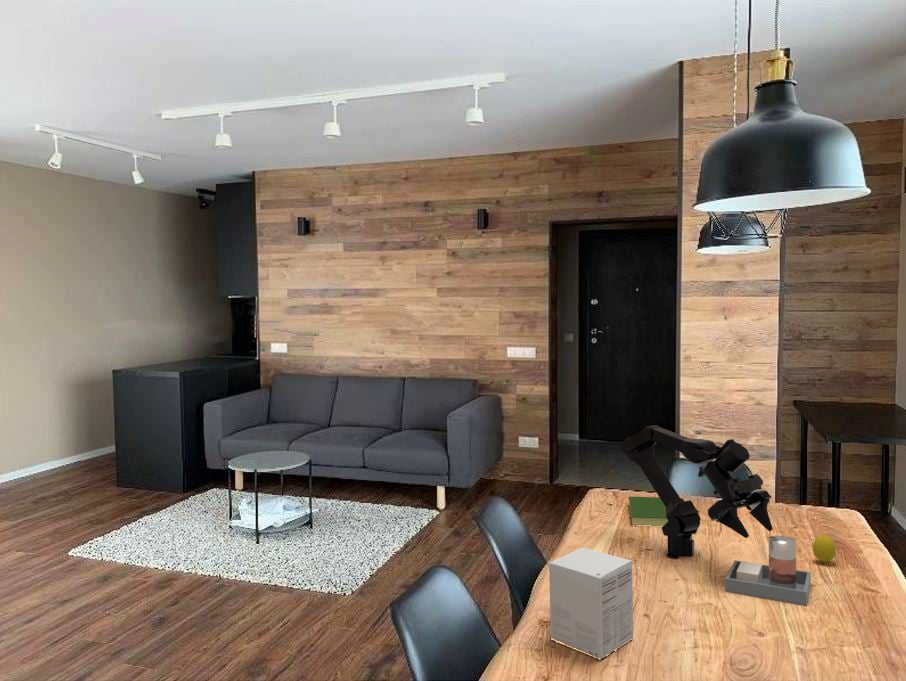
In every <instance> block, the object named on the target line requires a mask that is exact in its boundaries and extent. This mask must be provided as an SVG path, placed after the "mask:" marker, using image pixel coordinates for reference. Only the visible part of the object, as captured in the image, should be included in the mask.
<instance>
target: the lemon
mask: <svg viewBox="0 0 906 681" xmlns="http://www.w3.org/2000/svg"><path fill="white" fill-rule="evenodd" d="M836 551H837V550H836V545H835V542H834V540H833V539H832V537H830V536H828V535H826V534H821V535H818V536H817V537H816V538H814V540H813V544H812V552H813V554H814V556H815V558H816V559H817V560H818V561H820V562H822V563H823V564H826V563H827V562H830V561H832V560H833V559H834V558H835V556H836Z"/></svg>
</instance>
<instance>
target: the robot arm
mask: <svg viewBox="0 0 906 681" xmlns="http://www.w3.org/2000/svg"><path fill="white" fill-rule="evenodd" d="M657 444H659V445H662V446H664V447H667V448H669V449H672V450H675V451H677V452H679V453H680V454H682V455H683V457H684V458H685V459H687V460H688V461H690V462H691V463H692V464H697V465H698V464H703V463H707V464H706V465H701V466H699V470H698V476H697V477H698V478H703V477H706V478H707V479H708V481H709V482H710V483H711V485H712V486H713V488H714V491H713V492H712V493H713V494H714V495H715V496H719V497H720V498H721V499H719V500H717V501H715V502H714V503H713V505H711V506H710V507H709V508H708V509H707V515H708V517H709V518H710V520H711V521H716V522H717V523H720V524H722V525H724V526H725V527H727V528H729V529H731V530H732V531H734V532H736V533H737V534H738V535H740V536H742V537H743V538H745V539H748V538H749V537H750V535H749V533H748V531H747V528H746V527H745V525H744V524H743V523H742V521H741V519H740V517H739V515H738V510H739V509H741V508H746V509H747V510H749V514H750V515H751V517H753V518H754V519H755V520H757V522H759V524H760V525H761V526H763V527H764V528H765V529H766V530H767V531H768V532H772V531H773V529H774V528H773V525H772V522H771V519H770V516H769V513H768V504H769V503H771V501H770V500H771V499H772V496H771V495H770V493H769V492H768V491H767V490H766V489H763V488H762V486H763V485H764V480H763V479H762V478H761V476H760V475H759V473H754V474H752V475H749V476H748V478H747V479H744V480H742V479H741V478H739V477H734V476H733V475H732V473H734V472H736V471H737V470H738V469H740V467H742V466H743V465H744V464H745V463H746V462H747V461H748V460H749V459H750V453H749V450H748V449H747V447H745V446H743V445H742V444H740V443H739V442H736V441H735V439H733V438H732V439H727V440H725V442H724V444H723V445H722V446H719V445H716V443H715V442H714V441H712V440H709V439H704V438H692V437H691V438H690V437H687V436H684V435H682V434H679V433H676V432H673V431H671V430H668V429H666V428H663V427H661V426H660V425H649V426H645V427H644V428H643V429H641V430H640V431H637V433H634V434H633V435H631V436H630V437H625V439H623V441H622V445H621V449H622V452H623V453H624V455H625V456H626V457H627V458H628V459H629V460H630V461H631V462H632V463H634V464H636V465H637V466H639V467H640V469H641V471H642V473H644V475H645V477H646V479H647V480H648V482H649V483H650V485H651V487H652V489H653V490H654V491H655V492H656V494H657V496H658V497H660V499H661V500H662V502H663V504H664V505H665V507H666V518H667V520H668V522H667V523H666V524H665V525H664V526H663V527H661V531H662V534H663V535H664V536H666V537H667V553H666V554H665V557H666V558H670V559H679V558H680V557H682V558H683V557H689V558H690V557H693V556H694V555H695V540H694V539H693V535H696V534H697V533H698V532H697V531H698V529H699V528H700V525H701V520H702V519H701V516H700V514H699V513H700V511H699V510H698V509H697V508H696V507H695V505H694V502H693V501H692V500H690V499H689V500H682V499H681V498H682V497H680V495H679V494H678V492H677V491H676V489H675V488H674V486H673V485H672V483H671V482H670V480H669V479H668V477H667V476H666V474H665V472H664V471H663V469H662V468H661V466H660V465H659V463H658V462H657V460H656V459H655V449H654V446H655V445H657ZM752 492H753V493H752Z"/></svg>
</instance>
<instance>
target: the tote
mask: <svg viewBox="0 0 906 681" xmlns="http://www.w3.org/2000/svg"><path fill="white" fill-rule="evenodd" d="M741 561H742V560H733V563H732V564H731V566H730V569H729V570H728V573H727V574H726V576H725V582H724V583H725V584H724V585H725V592H726V593H732V594H738V595H745V596H749V597H755V598H762V599H766V600H770V601H778V602H782V603H783V602H784V603H789V604H795V605H799V606H807V605H808V600H809V596H810V591H811V584H812V573H811V571H807V570H805V571H804V570H800V569H796V589H791V588H785V587H779V586H773V585H769V564H762V582H761V583H755V582H749V581H743V580H737V569H738V567H739V565H740V563H741Z"/></svg>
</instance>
